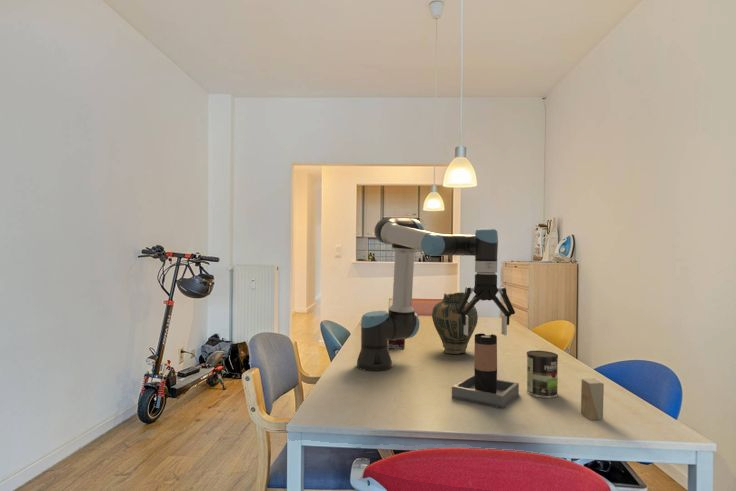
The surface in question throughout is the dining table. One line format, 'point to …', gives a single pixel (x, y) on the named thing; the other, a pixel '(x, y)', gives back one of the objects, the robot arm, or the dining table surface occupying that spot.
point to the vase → (453, 323)
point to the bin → (485, 393)
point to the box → (592, 399)
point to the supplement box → (397, 344)
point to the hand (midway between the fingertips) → (485, 334)
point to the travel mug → (485, 363)
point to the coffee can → (542, 374)
